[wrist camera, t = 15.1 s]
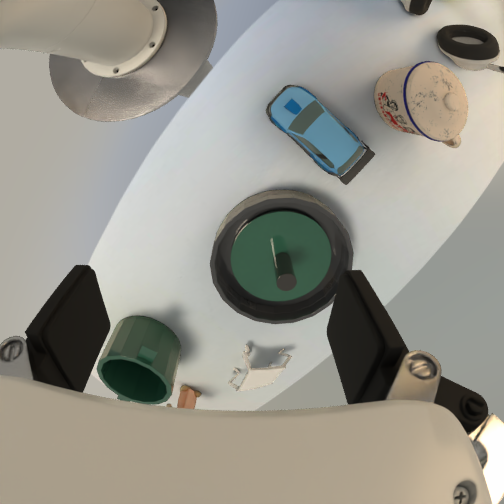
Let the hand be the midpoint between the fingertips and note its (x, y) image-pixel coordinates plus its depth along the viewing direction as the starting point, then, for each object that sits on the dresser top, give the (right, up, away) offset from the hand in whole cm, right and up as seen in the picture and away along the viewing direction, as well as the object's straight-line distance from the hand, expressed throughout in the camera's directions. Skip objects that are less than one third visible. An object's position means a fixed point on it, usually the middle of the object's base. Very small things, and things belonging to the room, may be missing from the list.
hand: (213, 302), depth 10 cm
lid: (+5, +1, +28) cm, 29 cm away
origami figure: (+2, -17, +39) cm, 43 cm away
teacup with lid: (+22, +21, +20) cm, 36 cm away
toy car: (+9, +17, +22) cm, 29 cm away
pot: (-17, -14, +37) cm, 43 cm away
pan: (+5, +2, +29) cm, 30 cm away
